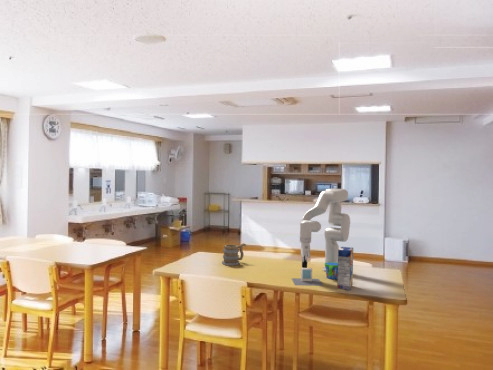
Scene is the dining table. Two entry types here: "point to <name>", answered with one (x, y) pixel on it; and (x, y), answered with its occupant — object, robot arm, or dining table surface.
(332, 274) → the snack cup
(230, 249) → the tankard
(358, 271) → the dining table surface
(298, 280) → the mat
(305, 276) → the tile
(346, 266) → the juice carton
